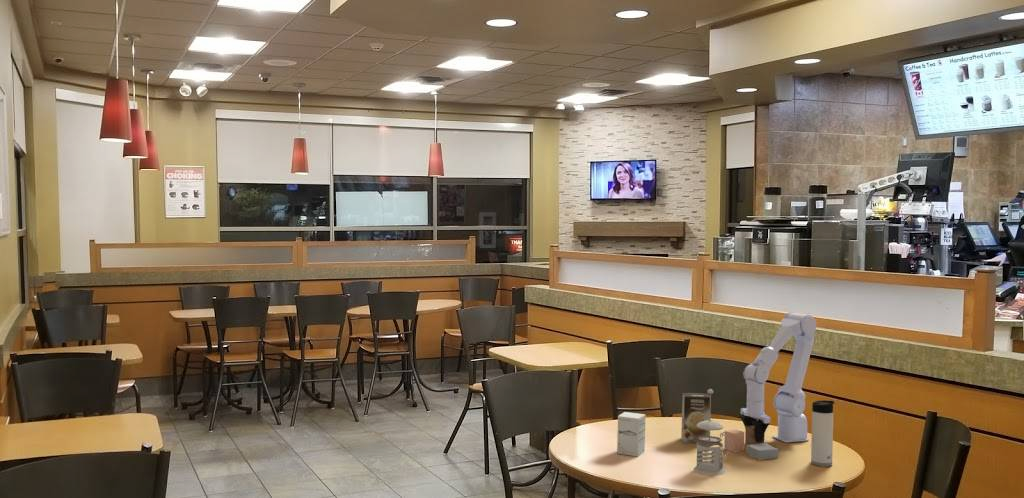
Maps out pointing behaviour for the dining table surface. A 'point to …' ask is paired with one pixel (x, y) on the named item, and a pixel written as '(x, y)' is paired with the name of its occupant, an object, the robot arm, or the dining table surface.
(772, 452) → the base block
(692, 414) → the coffee box
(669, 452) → the dining table surface
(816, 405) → the travel mug
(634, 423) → the supplement box
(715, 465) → the french press
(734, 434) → the terracotta block
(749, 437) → the walnut block
